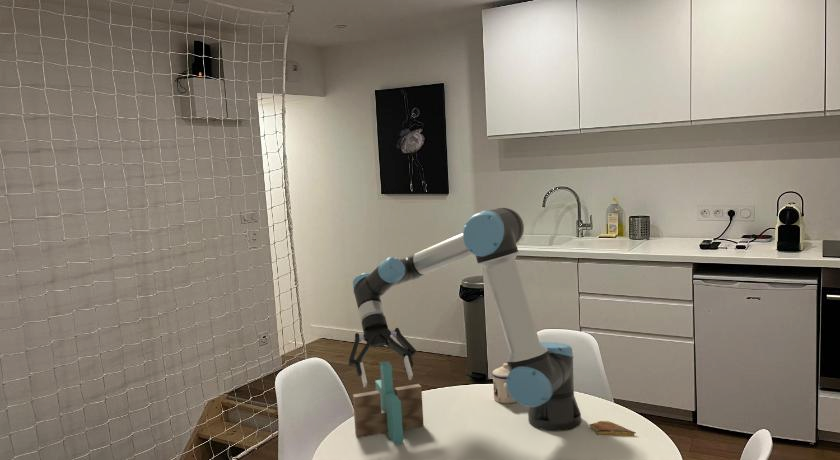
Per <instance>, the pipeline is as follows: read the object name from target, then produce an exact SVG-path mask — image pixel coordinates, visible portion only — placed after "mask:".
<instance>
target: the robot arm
mask: <svg viewBox="0 0 840 460" xmlns="http://www.w3.org/2000/svg"><path fill="white" fill-rule="evenodd" d="M524 232H525V224H524V221H523V219H522V217H521V216H520V214H519V212H516V211H515V210H513V209H512V208H507V207H500V208H495V209H494V208H493V209H487V210H482V211H480V212H477V213H475V214H473V215H471V216H470V218H469V219H467V221H466V223H465V225H464V227H463V230H462V233H459V234H457V235H454V236H452V237H450V238H448V239H445V240H443V241H440V242H439V243H437V244H434V245H431V246H429V247H427V248H425V249H423V250H421V251H420V250H419V251H418V252H415V253H412V254H411V255H409V256H406V257H403V258H400V259H399V258H398V257H394V256H389V257H387V258H386V259H384V260H383V261H381V262H380V264H379V265H378V266H377V267H376V268H374V269H373V271H372V272H371V273H369V272H364V273H361V274H360V275H357V276H355V277H354V278H353V281H352V289H353V294H354V298H355V301H356V306H357V309H358V314H359V318H360V322H361V326H362V330H363V331H362V332H363V334H360V333H358V332H356V333H355V334H354V343H353V346H352V350H351V351H350V353H351V354H350V356H349V359H348V366H349V367H352V366H353V367H354V368H355V370H356V374H357V375H356V376H358V377H361V382H362V386H363V387H362V388H366V387H367V385H368V380H367V376H366V371H365V367H364V362H363V360H364V358H365V357H366V355H367V354H368V352H369V350H371V348H372V347H373V348H379V347H385V346H386V347H388V348H391V350H393V351H395V352H396V353H397V354H399V355H400V356H402V357H403V358H404V359H403V363H404V366H405V369H406V370H405V371H406V374H407V376H408V377H407V378H408V380H409V381H410V380H411V381H412V380H413V377H414V374H413V373H414V372H413V370H412V368H413V367H414V362H413V359H412V357H415V355H416V353H417V350H416V349H415V347H414V346H413V345H412V344H411V343H410V342H409V341H408V340H407V339H406V338H405V337H404V335H403V334H402V333H401V331H400V328H399V327H395V329H393V330H390V329H389V326H388V323H387V319H386V316H385V311H384V307H383V303H382V299H381V297H382V296H383V295H385V293H386V292H388V291H389V290H390V289H391V288H392V287H394V286H396V285H397V286H398V285H401V284H403V283H406V282H409V281H413V280H416V279H420V277H422V276H425V275H427V274H430V273H432V272H434V271H436V270H439V269H442V268H444V267H446V266H448V265H449V266H450V265H452V264H454V263H457V262H459V261H462V260H464V259H466V258H469V257H471V256H475V259H476V262H477V265H479V266H481V267H482V268H484V270H485V273H486V277H487V279H488V283H489V287H490V290H491V294H492V297H493V300H494V303H495V307H496V309H497V310H496V311H497V314H498V317H499V321H500V325H501V328H502V330H503V334H504V337H505V340H506V343H507V349H508V351H509V352H508V353H509V354H508V355H507V357H506V358H505V361H506V363H507V364H508V368H509V371H510V372H509V374H508V377H507V380H506V386H507V390H508V392H509V394H510V395H511V397H512V398H513V399H514V400H515V401H516V402H515V403H518V404H519V405H521V406H523V407H527V408H529V409H528V414H527V416H528V417H527V419H528V423H529V424H530V425H531V426H533V427H535V428H537V429H540V430H545V431H552V432H561V431H569V430H572V429H575V428H577V427H579V426H580V425H581V423H582V413H581V410H580V408H579V406H578V405H579V404H578V402H577V400H576V396H575V390H574V389H575V385H574V383H575V382H574V380H575V379H574V355H573V354H574V353H573V348H572V347H571V345H569V344H566V343H563V342H555V341H554V342H553V341H541V342H540V340H539V335H538V332H537V330H536V326H535V322H534V320H533V319H534V318H533V316H532V312H531V309H530V305H529V302H528V299H527V295H526V292H525V288H524V285H523V281H522V279H521V275H520V271H519V269H518V265H517V262H516V258H517V257H518V255H519V250H518V245H517V244H518V243H519V242H520V241H521V239H522V237H523V235H524ZM391 336H392V337H393V338H392V337H391ZM394 338H395V339H396V340H397V342H396V341H395V340H394ZM363 340H364V341H365V342H366V343H365V345H364V347H363V348H362V349H361V351H360V352H359V354H358V356H357V358H356V359H355V357H356V354H357V352H358V348H359V344H360V343H362V341H363Z"/></svg>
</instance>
